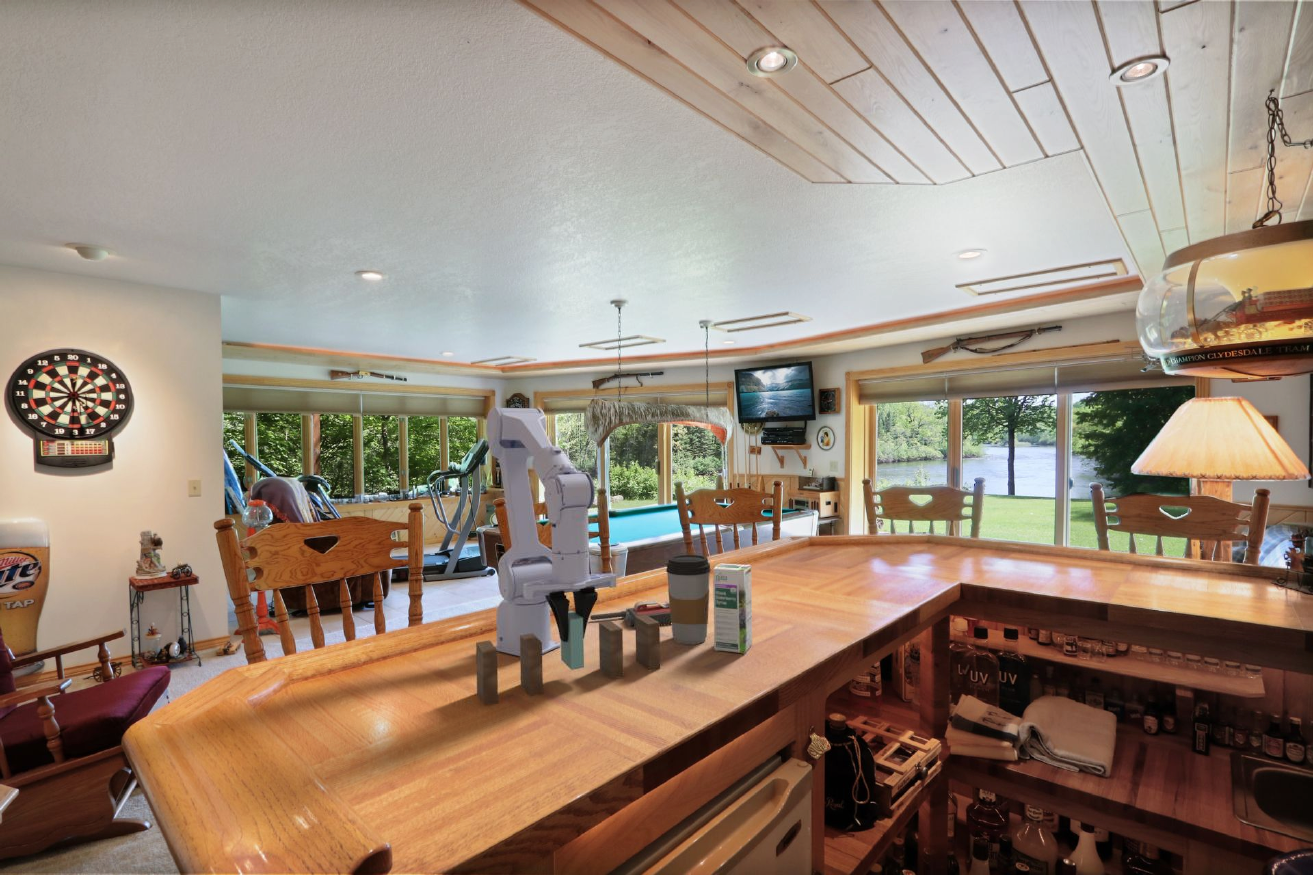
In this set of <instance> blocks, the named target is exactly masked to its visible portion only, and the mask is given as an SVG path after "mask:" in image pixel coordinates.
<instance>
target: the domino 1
mask: <svg viewBox="0 0 1313 875" xmlns="http://www.w3.org/2000/svg"><path fill="white" fill-rule="evenodd" d="M475 644H476V645H475V646H476V649H475V650H476V652H475V654H476V659H475V660H476V694H477V696H478V698H479V697H480V698H479V700H480V699H481V700H480V702H481V701H482V702H481V704H482V705H483V707H486V706H490V705H495V704H499V686H498V685H499V684H498V683H499V682H498V677H499V676H498V673H499V672H498V651H497V649H496V648H495V645H494V644H493V642H492V641H491V640H490V639H489V640H484V641H483V640H482V641H478V642H476V643H475Z"/></svg>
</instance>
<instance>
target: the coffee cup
mask: <svg viewBox="0 0 1313 875" xmlns="http://www.w3.org/2000/svg"><path fill="white" fill-rule="evenodd" d="M665 571H666V574H667V583H668V584H667V586H668V589H667V591H668V601H669V605H670V616H671V623H672V624H671V633H672V637H673V640H674V641H675V642H676V643H678V644H682V645H698V644H701V643H703V642H705V641H706V638H707V637H708V636H707V635H708V624H709V610H710V609H709V607H710V606H709V603H710V573H711V571H712V570H711V563H710V562H709V558H708V557H707V556H705V555H700V554H699V555H698V554H679V555H673V556H670V557H669V558H668V562H667V564H666V570H665Z"/></svg>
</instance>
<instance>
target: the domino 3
mask: <svg viewBox="0 0 1313 875" xmlns="http://www.w3.org/2000/svg"><path fill="white" fill-rule="evenodd" d="M568 631H569V634H568V642H563V641H562V640H561V639H560V643H561V646H560V659H561V661H562V663H564V664H565V665H566V666H567V667H568V669H570V670H578V669H583V668H585V658H584V657H585V655H584V654H585V653H584V652H585V650H584V639H583V618H582V617H581V616H579V615H578V614H576V613H575V610H574V611H573V610H569V611H568Z"/></svg>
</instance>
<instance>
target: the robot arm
mask: <svg viewBox="0 0 1313 875" xmlns="http://www.w3.org/2000/svg"><path fill="white" fill-rule="evenodd" d="M485 428H486V430H485V431H486V436H487V443H488V444H487V445H488V448H489V452H490V455H491V456H492V457H494V458H495V459H497V460H498V463H499V468H500V473H501V480H502V487H503V493H504V494H503V496H504V501H505V507H506V508H505V509H506V515H507V523H508V529H509V537H510V544H511V547H510V548H509V549H508V550H507V551H506V552H505V553H504V554H503V555H502V556H500V558H499V561H498V564H497V565H498V566H497V567H498V579H497V582H498V583H497V584H498V589H499V594H500V595H501V597H502V598H503V599H502V600H501V601H500V603H499V605H498V608H497V610H496V617H495V618H496V620H495V621H496V645H494V647H495V648H496V649H497V652H501V653H505V654H510V655H512V656H513V655H514V656H516V657H517V656H518V657H520V635H526V634H532V633H533V634H534V635H535V636H536V637H537V638H538V639H539V640H540V641H541V642H542V655H543V654H546V653H548V652H549V651H552V650H555V649H557V648H559V647H561V642H558V641H553V640H552V639H551V638H552V635H551V633H552V632H551V631H552V630H551V611H552V614H553V617H554V619H555V622H556V626H557V629H558V634H559V640H560V641H561V640H562V641H563V642H568V634H569V631H568V611H570V602H571V601H570V599H568V597H567V595H566V593H572V596H573V604H574V612H575V613H576V614H578V615H579V616H581V617H582V618H583V640H584V639H585V635H586V631H587V630H586V629H587V627H588V622H589V619H590V616H591V612H592V610H593V608H594V606H595V604H596V602H597V601H598V599H599V598H598V597H599V594H598V592H597V591H596V590H597V589H605V588H609V589H610V588H617V574H614V573H613V572H606V573H591V574H590V542H589V540H590V537H589V510H590V509H591V508H592V506H593V505H594V502H595V497H596V489H595V484H594V480H593V478H592V477H591V475H590V473H589V472H587V471H584V472H583V471H582V470H577V469H576V467H575V466H574V465H573V463H572V461H571V460H570V459H569V457H568V456H567V454H566V453H565V452H564V450H563V449H562V448H561V447H560V446H556V445H553V444H552V443H551V441H550V440H551V439H550V438H549V437H548V434H547V417H546V414H545V412H544V411H543V409H542V408H541V407H535V408H530V407H529V408H526V407H525V408H521V407H520V408H519V407H518V408H516V407H513V408H512V407H497V406H493V407H492V408H491V409H490V410H489V411H488V414H487V418H486V427H485ZM531 457H532V462H531V463H532V464H531V465H532V469H533V470H534V472H535V474H536V476H537V477H538V479H539V481H540V482H541V484H542V485H543V487H544V491H543V496H544V502H545V506H546V509H547V510H546V511H547V519H548V522H549V523H551V526H550V527H551V549H550V548H548V546H546V545H544V544H542V543H541V542H540V541H539V534H538V528H537V527H538V526H537V522H536V515H535V510H534V503H533V497H532V490H531V482H530V477H529V471H528V465H527V464H528V463H527V460H528V459H529V458H531Z"/></svg>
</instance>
